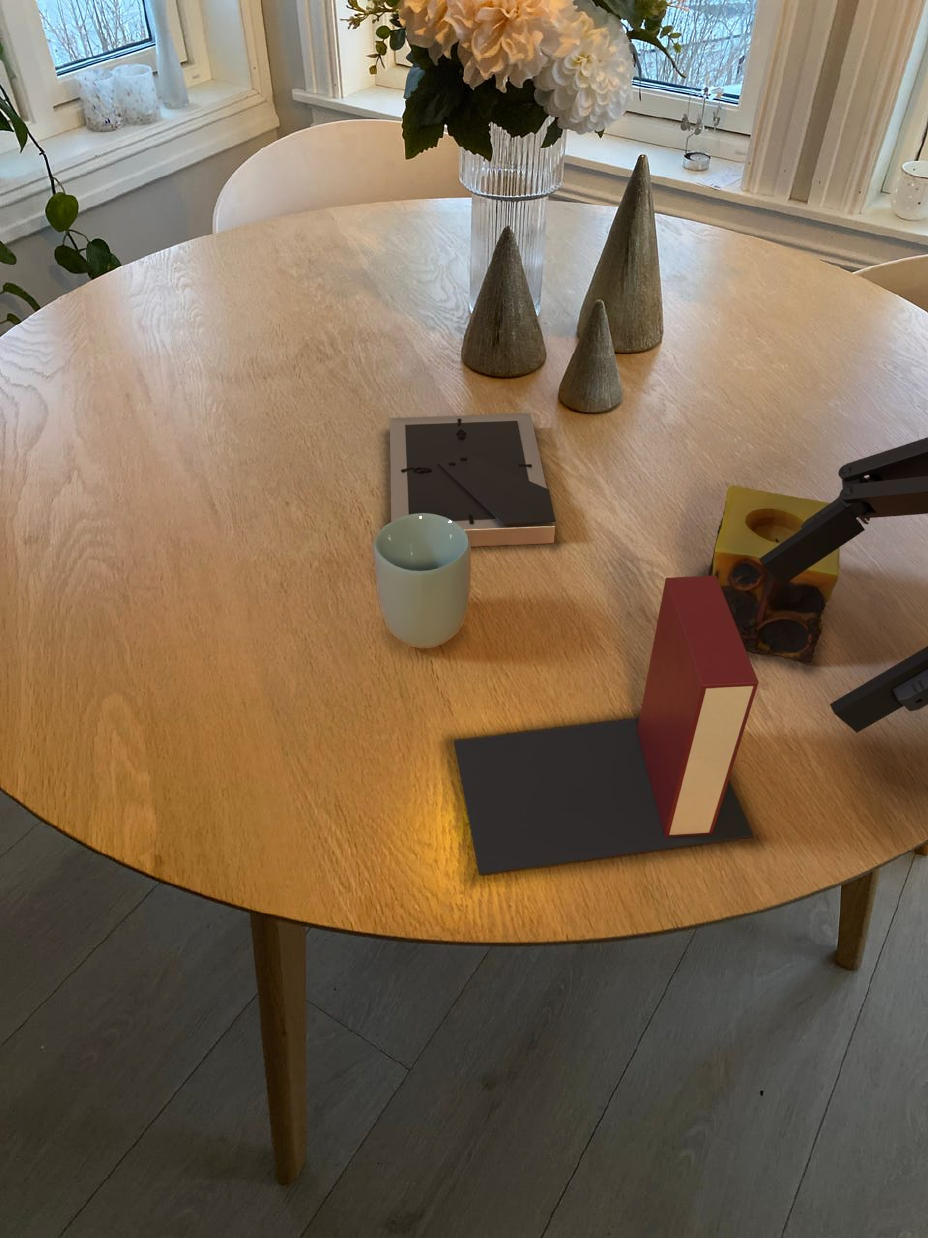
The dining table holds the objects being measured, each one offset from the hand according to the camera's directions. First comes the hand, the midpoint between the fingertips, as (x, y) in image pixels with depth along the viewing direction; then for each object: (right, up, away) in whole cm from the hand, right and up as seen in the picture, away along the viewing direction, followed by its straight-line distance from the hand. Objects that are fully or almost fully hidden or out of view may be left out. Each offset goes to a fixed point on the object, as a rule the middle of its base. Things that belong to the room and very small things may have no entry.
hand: (803, 639), depth 62 cm
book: (-6, -11, +10) cm, 16 cm away
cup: (-25, 0, +23) cm, 34 cm away
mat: (-12, -11, +10) cm, 19 cm away
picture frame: (-22, +15, +39) cm, 47 cm away
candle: (+4, +2, +24) cm, 25 cm away
